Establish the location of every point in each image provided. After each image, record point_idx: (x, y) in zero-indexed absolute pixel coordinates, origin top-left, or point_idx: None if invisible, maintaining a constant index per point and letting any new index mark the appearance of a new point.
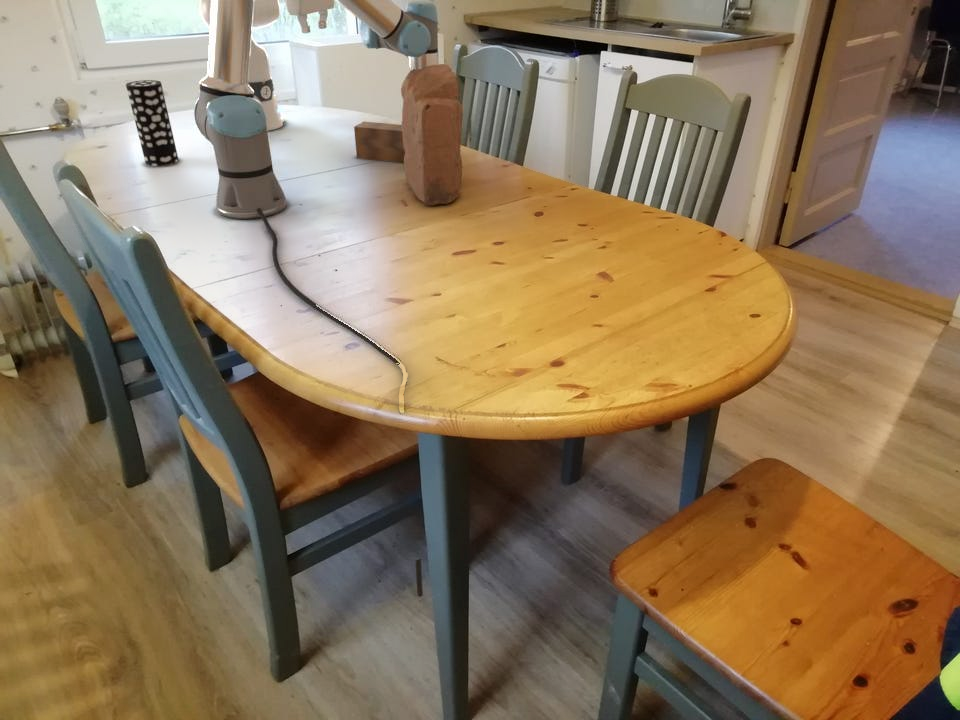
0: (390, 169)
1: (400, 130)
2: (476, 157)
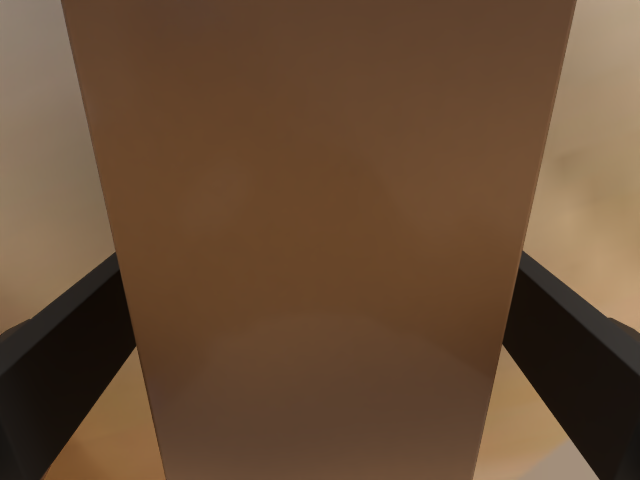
0: (29, 69)
1: (108, 86)
2: (476, 466)
